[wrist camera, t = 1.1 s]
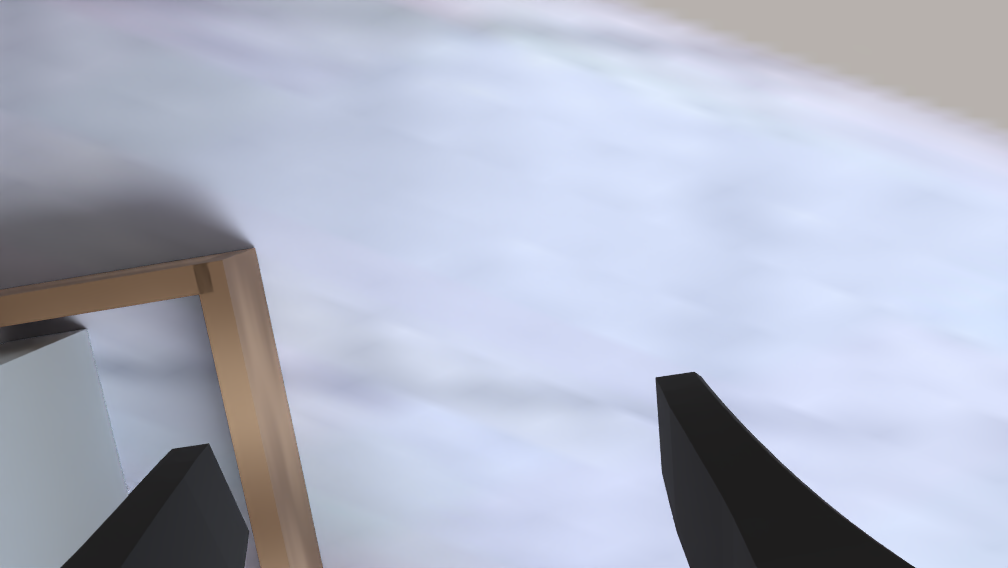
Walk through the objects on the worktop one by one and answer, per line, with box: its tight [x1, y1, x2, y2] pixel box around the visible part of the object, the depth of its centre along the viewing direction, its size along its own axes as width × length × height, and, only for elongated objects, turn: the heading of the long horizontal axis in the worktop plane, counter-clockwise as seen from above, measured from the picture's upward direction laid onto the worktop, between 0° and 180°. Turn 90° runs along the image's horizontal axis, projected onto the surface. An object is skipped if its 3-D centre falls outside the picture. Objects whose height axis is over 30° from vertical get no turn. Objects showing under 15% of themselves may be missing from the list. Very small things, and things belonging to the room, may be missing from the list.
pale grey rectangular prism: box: [0, 329, 128, 568], centre depth 22 cm, size 6×2×7 cm, turn 9°
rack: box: [0, 248, 323, 568], centre depth 24 cm, size 15×14×3 cm
